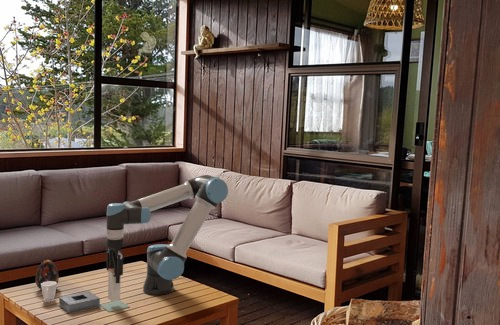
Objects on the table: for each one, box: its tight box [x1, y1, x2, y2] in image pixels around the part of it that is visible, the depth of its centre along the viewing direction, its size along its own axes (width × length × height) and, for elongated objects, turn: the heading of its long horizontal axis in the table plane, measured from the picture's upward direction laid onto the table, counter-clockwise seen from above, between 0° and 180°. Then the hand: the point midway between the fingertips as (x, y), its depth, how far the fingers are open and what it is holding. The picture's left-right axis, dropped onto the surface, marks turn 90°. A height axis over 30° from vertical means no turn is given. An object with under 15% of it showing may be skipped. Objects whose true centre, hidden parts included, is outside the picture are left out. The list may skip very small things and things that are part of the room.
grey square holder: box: [58, 290, 101, 314], centre depth 234 cm, size 14×12×4 cm
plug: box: [107, 268, 122, 302], centre depth 235 cm, size 4×4×14 cm
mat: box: [100, 299, 130, 313], centre depth 236 cm, size 10×10×1 cm
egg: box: [34, 259, 60, 292], centre depth 254 cm, size 11×11×15 cm
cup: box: [41, 281, 58, 303], centre depth 239 cm, size 7×10×8 cm
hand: (114, 288), depth 235 cm, fingers closed on plug, 4 cm apart
